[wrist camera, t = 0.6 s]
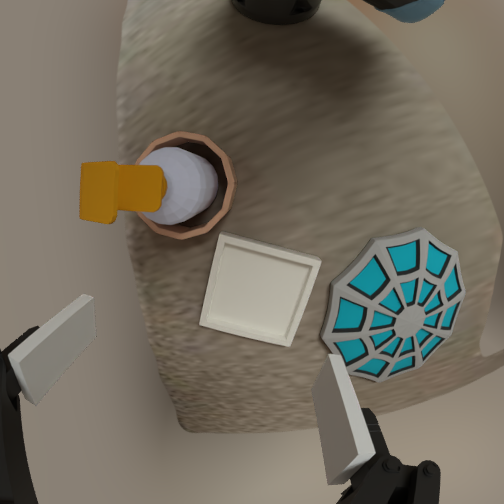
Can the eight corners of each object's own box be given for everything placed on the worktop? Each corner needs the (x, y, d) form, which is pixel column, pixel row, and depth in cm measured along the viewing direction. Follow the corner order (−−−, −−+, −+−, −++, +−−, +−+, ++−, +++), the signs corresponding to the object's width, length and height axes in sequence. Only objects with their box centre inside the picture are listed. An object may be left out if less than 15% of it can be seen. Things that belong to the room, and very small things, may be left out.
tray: (221, 230, 40) (219, 233, 38) (318, 256, 41) (321, 261, 38) (202, 317, 44) (198, 324, 42) (288, 338, 45) (289, 346, 42)
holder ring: (157, 131, 37) (145, 125, 32) (247, 149, 37) (245, 144, 32) (138, 219, 40) (123, 224, 35) (223, 241, 41) (218, 249, 36)
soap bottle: (216, 217, 40) (154, 268, 16) (158, 212, 40) (50, 252, 16) (222, 156, 38) (164, 120, 14) (163, 153, 38) (53, 131, 14)
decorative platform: (340, 214, 40) (350, 219, 35) (471, 236, 39) (487, 242, 35) (308, 377, 47) (311, 395, 42) (428, 370, 47) (438, 383, 42)
